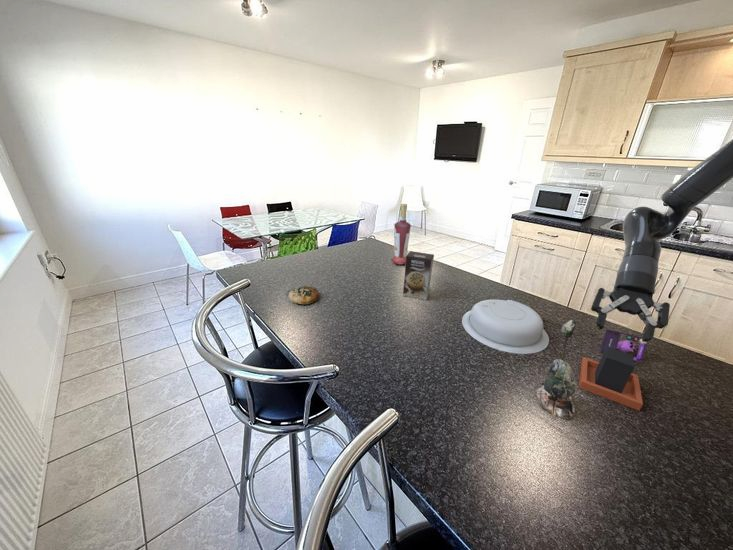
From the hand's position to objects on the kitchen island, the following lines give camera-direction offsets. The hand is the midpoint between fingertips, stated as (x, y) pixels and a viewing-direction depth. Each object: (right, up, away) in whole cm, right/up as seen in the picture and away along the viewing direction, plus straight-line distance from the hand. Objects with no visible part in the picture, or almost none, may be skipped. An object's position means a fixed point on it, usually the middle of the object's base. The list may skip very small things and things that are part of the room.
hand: (622, 334), depth 72 cm
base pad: (-4, -12, -1) cm, 13 cm away
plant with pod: (-21, -14, -7) cm, 27 cm away
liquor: (-47, +20, +69) cm, 85 cm away
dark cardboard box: (-44, +7, +40) cm, 59 cm away
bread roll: (-85, +6, +35) cm, 92 cm away
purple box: (+8, -7, +10) cm, 15 cm away
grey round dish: (-20, -2, +20) cm, 28 cm away
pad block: (-5, -11, -1) cm, 12 cm away
